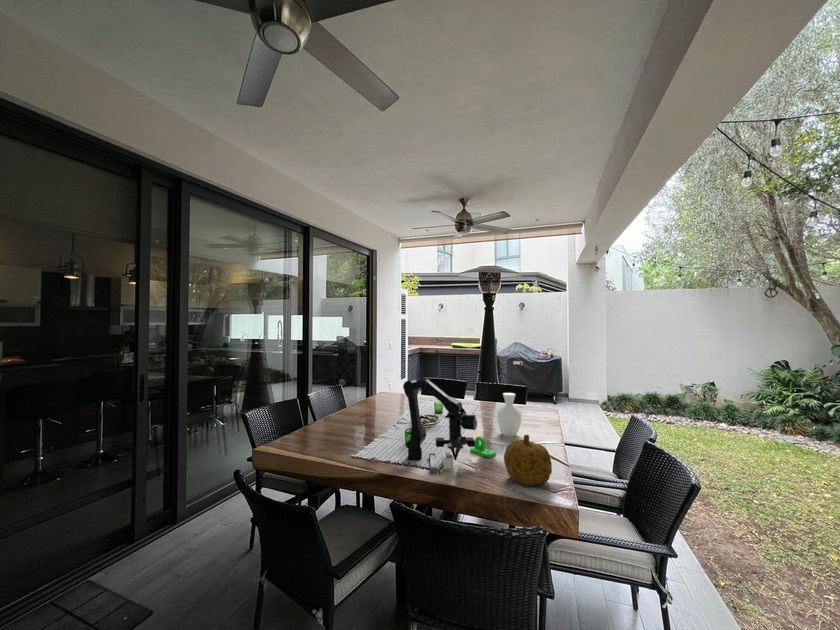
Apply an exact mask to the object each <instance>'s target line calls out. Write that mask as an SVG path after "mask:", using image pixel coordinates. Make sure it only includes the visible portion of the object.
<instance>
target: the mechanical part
mask: <svg viewBox="0 0 840 630" xmlns="http://www.w3.org/2000/svg"><path fill="white" fill-rule="evenodd" d="M474 440H475V447H470V449H469V451H470V453H473V454H475V455H478V456H480V457H484V458H493V457H495V456H497V455H496V453H497V452H496V451H493V450H490V449H487V448H486V447H487V446H486V439H485V438H484V437H483V436H481V435H479V436H477V437H475V439H474Z"/></svg>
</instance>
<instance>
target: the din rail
mask: <svg viewBox="0 0 840 630" xmlns="http://www.w3.org/2000/svg"><path fill="white" fill-rule="evenodd" d="M428 459H429V462H430V467H429V474H430V475H431V474H432V475H433V474H434V475H436V474H437V472H438V469H437V468H438V467H437V466H436V465H437V464H436V453H435V452H434V453H429V452H428Z"/></svg>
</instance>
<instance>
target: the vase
mask: <svg viewBox="0 0 840 630" xmlns="http://www.w3.org/2000/svg"><path fill="white" fill-rule="evenodd" d="M502 396H503V399H504V403H505V405H504V406H502V407H501V408H499V409H498V410H497V414H496V415H497V423H498V428H499V432H500V433H501V435H502V434H503V436H504V435H505V436H504V437H509V436H511V437H516V436H517V434H518V432H519V430H520V427H521V423H522V412H521V411H520V410H519V409H518V408H516V407H515V405H514V401H515V398H516V393H514V392H503V393H502ZM515 435H516V436H515Z"/></svg>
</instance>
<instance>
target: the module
mask: <svg viewBox="0 0 840 630" xmlns="http://www.w3.org/2000/svg"><path fill="white" fill-rule="evenodd" d="M441 464H442V467H443V469H444V470H454V457H453V453H452V451H448V452H445V451H444V452H441Z"/></svg>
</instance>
